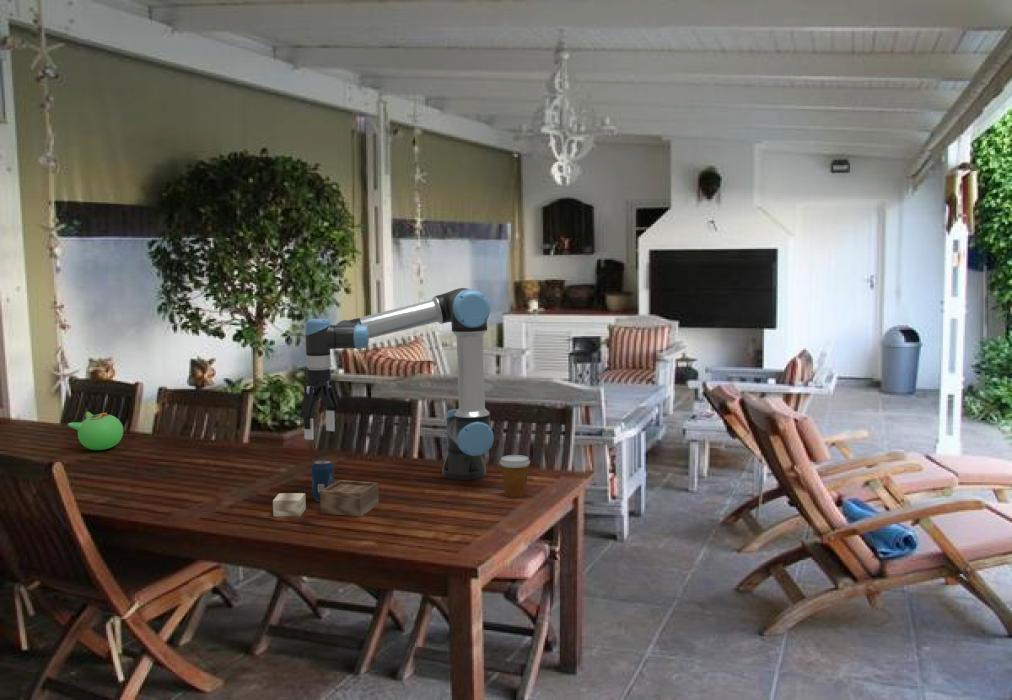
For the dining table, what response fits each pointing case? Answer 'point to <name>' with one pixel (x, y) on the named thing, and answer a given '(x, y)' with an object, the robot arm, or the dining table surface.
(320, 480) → the soda can
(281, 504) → the beech block
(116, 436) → the toy bird
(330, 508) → the wooden crate
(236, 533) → the dining table surface
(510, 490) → the disposable coffee cup
